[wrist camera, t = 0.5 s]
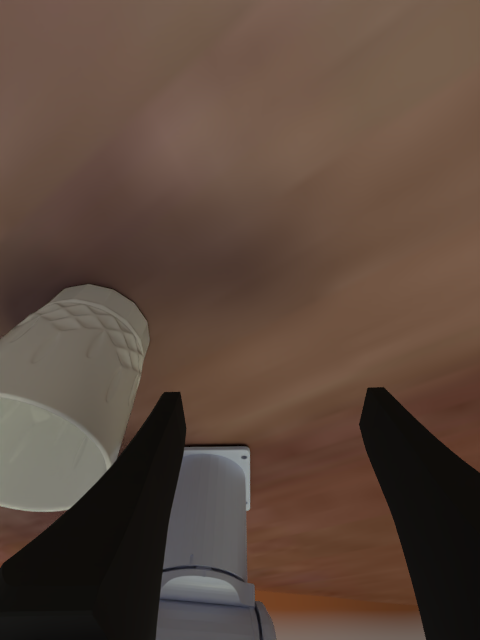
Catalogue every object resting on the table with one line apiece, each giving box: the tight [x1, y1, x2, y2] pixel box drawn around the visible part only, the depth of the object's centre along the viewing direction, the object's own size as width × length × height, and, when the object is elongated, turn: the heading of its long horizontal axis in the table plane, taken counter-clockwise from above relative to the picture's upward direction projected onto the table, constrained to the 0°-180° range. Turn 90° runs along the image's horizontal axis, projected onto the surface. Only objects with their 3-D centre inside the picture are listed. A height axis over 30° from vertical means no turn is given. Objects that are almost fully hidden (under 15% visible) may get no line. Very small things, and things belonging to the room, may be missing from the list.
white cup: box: [0, 284, 150, 512], centre depth 18 cm, size 8×8×10 cm
